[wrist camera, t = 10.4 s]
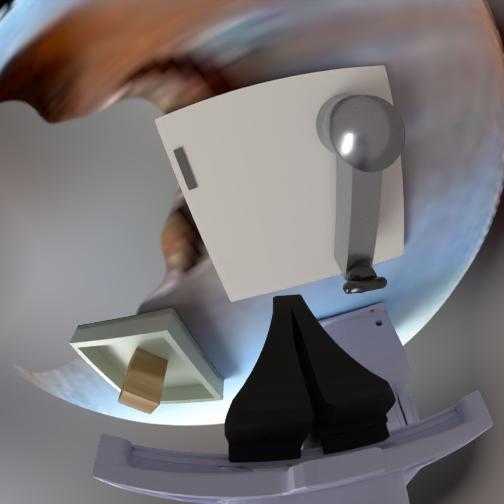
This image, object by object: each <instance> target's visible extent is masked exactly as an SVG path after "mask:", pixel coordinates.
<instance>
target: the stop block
mask: <svg viewBox="0 0 504 504" xmlns="http://www.w3.org/2000/svg"><path fill="white" fill-rule="evenodd" d="M167 365H168V360H166V359H164V358H161V357H159V356H156V355H154V354H152V353H149V352H147V351H145V350H142V349H140V348H138V347H137V348H136V350H135V352H134V354H133V356H132V358H131V360H130V361H129V364H128V368H127V371H126V374H125V378H124V381H123V385H122V388H121V392H120V396H119V399H118V402H119V403H122V404H124V405H127V406H129V407H132V408H134V409H137V410H140V411H142V412H145V413H148V414H151V413H152V412H153V411H154V410H155V409H156V408H157V407H158V406H159V405H160V401H161V395H162V390H163V385H164V380H165V374H166V369H167Z"/></svg>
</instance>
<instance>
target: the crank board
mask: <svg viewBox="0 0 504 504" xmlns="http://www.w3.org/2000/svg"><path fill="white" fill-rule="evenodd" d="M337 95H372V96H377V97H380V98H382V99H385V100H386V101H388V102H389V103H390V104H392V105H393V100H392V95H391V90H390V86H389V81H388V77H387V73H386V69H385V65H384V66H365V67H353V68H343V69H335V70H327V71H320V72H314V73H308V74H302V75H297V76H291V77H287V78H282V79H277V80H273V81H268V82H264V83H260V84H256V85H252V86H249V87H245V88H242V89H238V90H235V91H231V92H228V93H225V94H222V95H218V96H215V97H212V98H209V99H206V100H203V101H201V102H198V103H195V104H192V105H190V106H187V107H184V108H182V109H179V110H177V111H174V112H172V113H169V114H167V115H165V116H162V117H160V118H158V119H155V123H156V126H157V128H158V131H159V134H160V136H161V139H162V142H163V144H164V147H165V149H166V152H167V154H168V156H169V159H170V162H171V165H172V167H173V169H174V172H175V175H176V177H177V180H178V182H179V185H180V187H181V189H182V192H183V194H184V197H185V199H186V202H187V204H188V206H189V209H190V211H191V213H192V216H193V218H194V221H195V223H196V225H197V228H198V230H199V232H200V234H201V237H202V239H203V241H204V244H205V246H206V248H207V250H208V253H209V255H210V257H211V259H212V262H213V264H214V266H215V268H216V271H217V273H218V275H219V277H220V279H221V282H222V284H223V286H224V288H225V290H226V292H227V294H228V297H229V299H230V301H231V302H232V301H237V300H241V299H245V298H250V297H254V296H258V295H262V294H266V293H270V292H274V291H278V290H282V289H286V288H290V287H294V286H298V285H302V284H306V283H309V282H313V281H317V280H321V279H324V278H328V277H332V276H335V275H339V274H342V273H341V271H340V269H339V267H338V265H337V262H336V260H335V258H334V244H335V222H336V155H335V154H333V153H332V152H330V151H329V150H328V149H326V148H325V146H324V145H323V144H322V143H321V141H320V139H319V137H318V134H317V130H316V119H317V115H318V112H319V110H320V108H321V107H322V105H323V104H324V103H325V102H326V101H327V100H329V99H330V98H332V97H334V96H337ZM403 249H404V198H403V179H402V165H401V155H399V157H398V158H397V160H396V161H395V162H394V163H393V164H392V165H391V166H389V167H388V168H386V169H384V170H383V173H382V189H381V202H380V212H379V222H378V230H377V238H376V245H375V252H374V259H373V264H377V263H380V262H383V261H387V260H390V259H393V258H396V257H399V256H403Z"/></svg>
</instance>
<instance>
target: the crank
mask: <svg viewBox="0 0 504 504" xmlns="http://www.w3.org/2000/svg"><path fill="white" fill-rule="evenodd" d="M316 130H317V134H318V137H319V139H320V141H321V143H322V144H323V145H324V146H325V148H326V149H328V150H329V151H330V152H332V153H333V154H335V155H336V222H335V244H334V258H335V260H336V262H337V265H338V267H339V269H340V271H341V273H342V275H343V277H344V279H345V280H347V281H348V282H346V283H345V284H344V286H343V290H344V292H345V293H347V294H352V293H363V292H366V291H371V290H377V289H382V288H385V287H386V285H387V280H386V279H385V278H384V277H377V275H376V273H375V271H374V270H373V268H372V265H373V259H374V252H375V245H376V238H377V230H378V222H379V212H380V202H381V189H382V173H383V170H384V169H386V168H388V167H389V166H391V165H392V164H393V163H394V162H395V161H396V160H397V158H398V157H399V155H400V154H401V151H402V149H403V146H404V141H405V129H404V124H403V121H402V119H401V116H400V115H399V113H398V111H397V110H396V109H395V108H394V106H393V105H392V104H390V103H389V102H388V101H386V100H385V99H382V98H380V97H377V96H372V95H337V96H334V97H332V98H330V99H329V100H327V101H326V102H325V103H324V104H323V105H322V107H321V108H320V110H319V112H318V115H317V119H316Z"/></svg>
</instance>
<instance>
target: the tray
mask: <svg viewBox="0 0 504 504" xmlns="http://www.w3.org/2000/svg"><path fill="white" fill-rule="evenodd" d="M70 345H71V346H72V347H73V348H74V349H75V350H76V351H77V352H78V353H79V354H80V355H81V356H82V357H83V358H84V359H85V360H86V361H87V362H88V363H89V364H90V365H91V366H92V367H93V368H94V369H95V370H96V371H97V372H98V373H99V374H100V375H101V376H102V377H103V378H104V379H105V380H106V381H108V382H109V383H110V384H111V385H112V386H113V387H114V388H115V389H117V390H118V391H119V392H121V388H122V385H123V381H124V378H125V374H126V371H127V368H128V364H129V361H130V360H131V358H132V356H133V354H134V352H135V350H136V348H137V347H138V348H140V349H142V350H145V351H147V352H149V353H152V354H154V355H156V356H159V357H161V358H164V359H166V360H168V365H167V369H166V374H165V380H164V385H163V390H162V395H161V401H160V404H168V403H190V402H204V401H215V400H223V386H224V380H223V379H222V377H221V376H220V375H219V373H218V372H217V371H216V369H215V368H214V367H213V365H212V364H211V363H210V361H209V360H208V358H207V357H206V356H205V354H204V353H203V351H202V350H201V349H200V347H199V346H198V344H197V343H196V341H195V340H194V338H193V337H192V336H191V334H190V333H189V331H188V330H187V328H186V327H185V325H184V324H183V322H182V321H181V319H180V317H179V316H178V314H177V313H176V311H175V310H174V308H168V309H163V310H158V311H153V312H148V313H143V314H138V315H133V316H128V317H123V318H118V319H112V320H107V321H101V322H95V323H90V324H84V325H78V327H77V329H76V331H75V333H74V335H73V337H72V339H71V341H70Z"/></svg>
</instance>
